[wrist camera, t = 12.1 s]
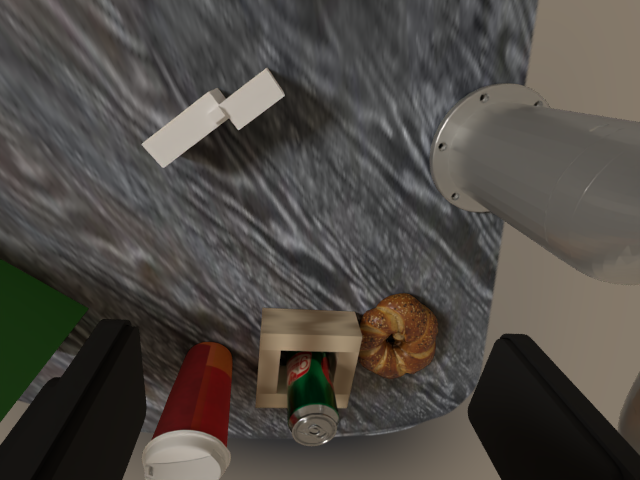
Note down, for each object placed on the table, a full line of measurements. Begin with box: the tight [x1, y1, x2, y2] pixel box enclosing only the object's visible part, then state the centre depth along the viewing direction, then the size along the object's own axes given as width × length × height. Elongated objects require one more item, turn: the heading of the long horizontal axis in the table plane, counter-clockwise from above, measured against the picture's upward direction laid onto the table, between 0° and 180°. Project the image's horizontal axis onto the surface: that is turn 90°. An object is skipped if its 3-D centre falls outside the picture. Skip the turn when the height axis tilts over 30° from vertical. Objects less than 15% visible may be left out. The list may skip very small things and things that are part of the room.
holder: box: [255, 308, 362, 408], centre depth 44 cm, size 11×11×4 cm
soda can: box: [286, 351, 339, 446], centre depth 40 cm, size 5×5×12 cm
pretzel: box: [358, 293, 438, 379], centre depth 45 cm, size 12×11×4 cm
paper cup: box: [142, 342, 232, 480], centre depth 39 cm, size 8×8×14 cm
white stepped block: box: [141, 68, 285, 168], centre depth 31 cm, size 15×11×6 cm
